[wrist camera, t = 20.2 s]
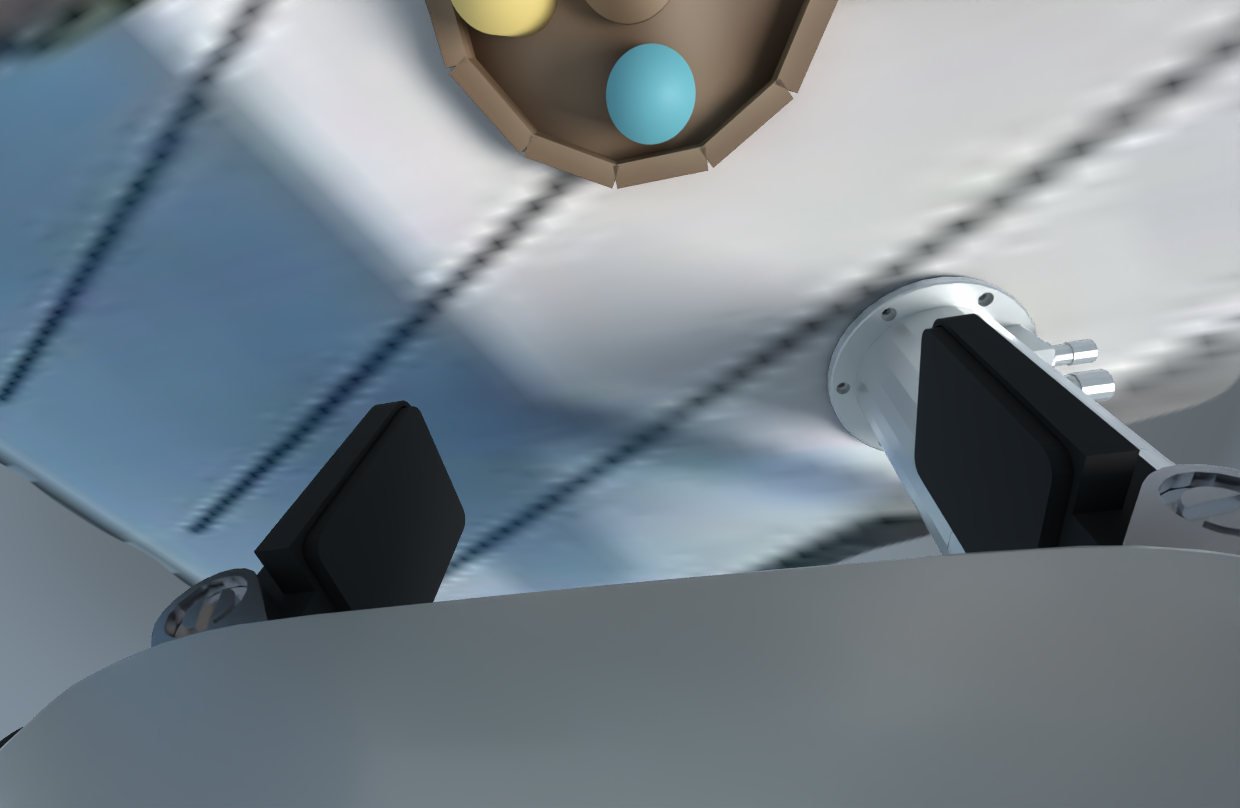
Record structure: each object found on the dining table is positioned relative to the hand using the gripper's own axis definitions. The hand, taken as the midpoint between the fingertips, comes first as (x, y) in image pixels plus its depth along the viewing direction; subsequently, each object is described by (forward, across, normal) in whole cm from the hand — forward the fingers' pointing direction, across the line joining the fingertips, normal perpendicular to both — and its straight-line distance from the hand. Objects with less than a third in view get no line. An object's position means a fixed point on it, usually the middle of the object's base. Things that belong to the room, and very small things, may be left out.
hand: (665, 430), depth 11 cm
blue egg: (+25, 0, -4) cm, 26 cm away
